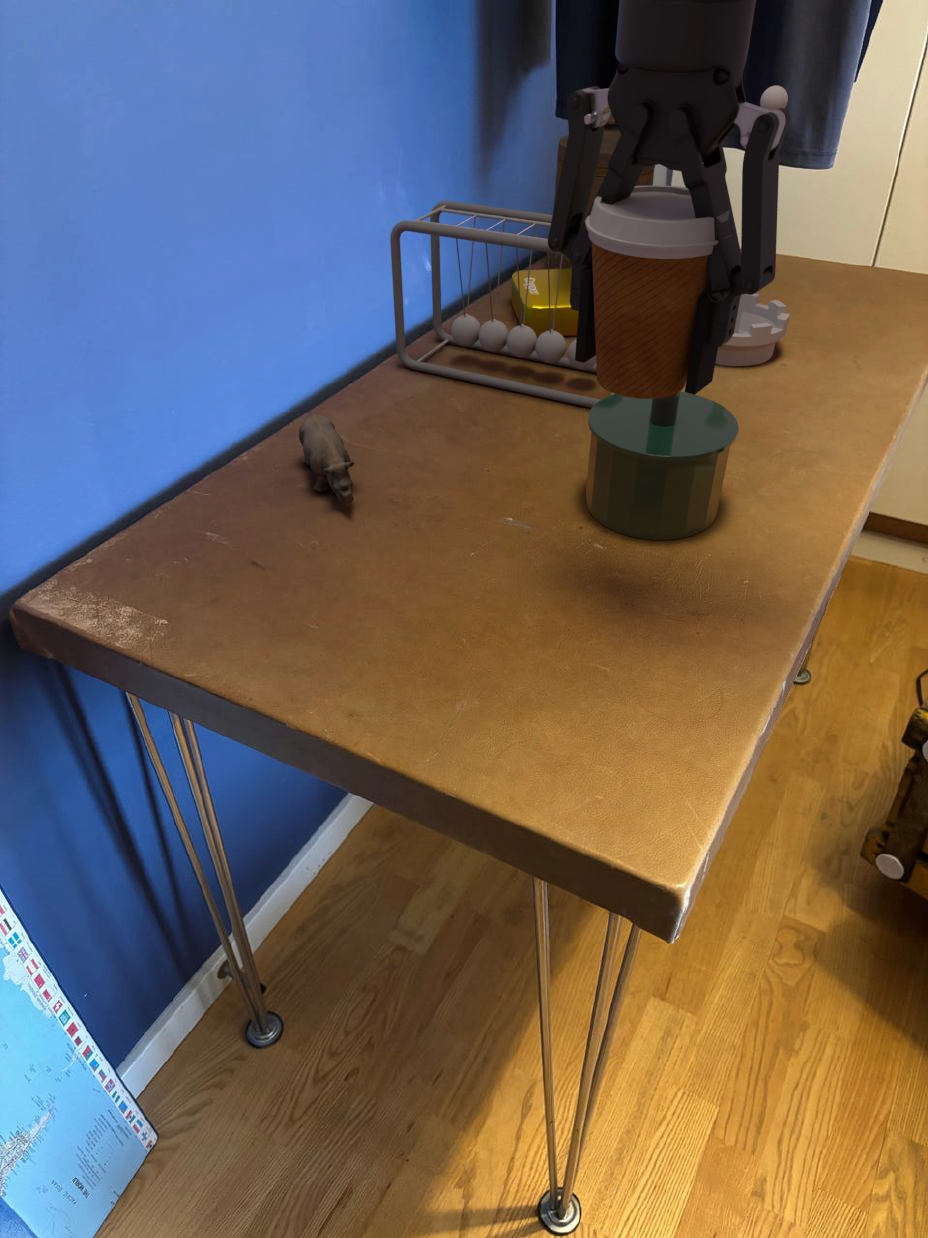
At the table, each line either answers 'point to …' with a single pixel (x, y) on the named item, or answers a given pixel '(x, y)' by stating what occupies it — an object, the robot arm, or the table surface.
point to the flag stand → (757, 300)
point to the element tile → (545, 301)
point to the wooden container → (596, 175)
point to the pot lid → (663, 426)
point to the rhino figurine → (327, 456)
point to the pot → (653, 493)
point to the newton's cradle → (493, 331)
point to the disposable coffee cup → (648, 288)
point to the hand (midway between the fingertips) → (642, 370)
